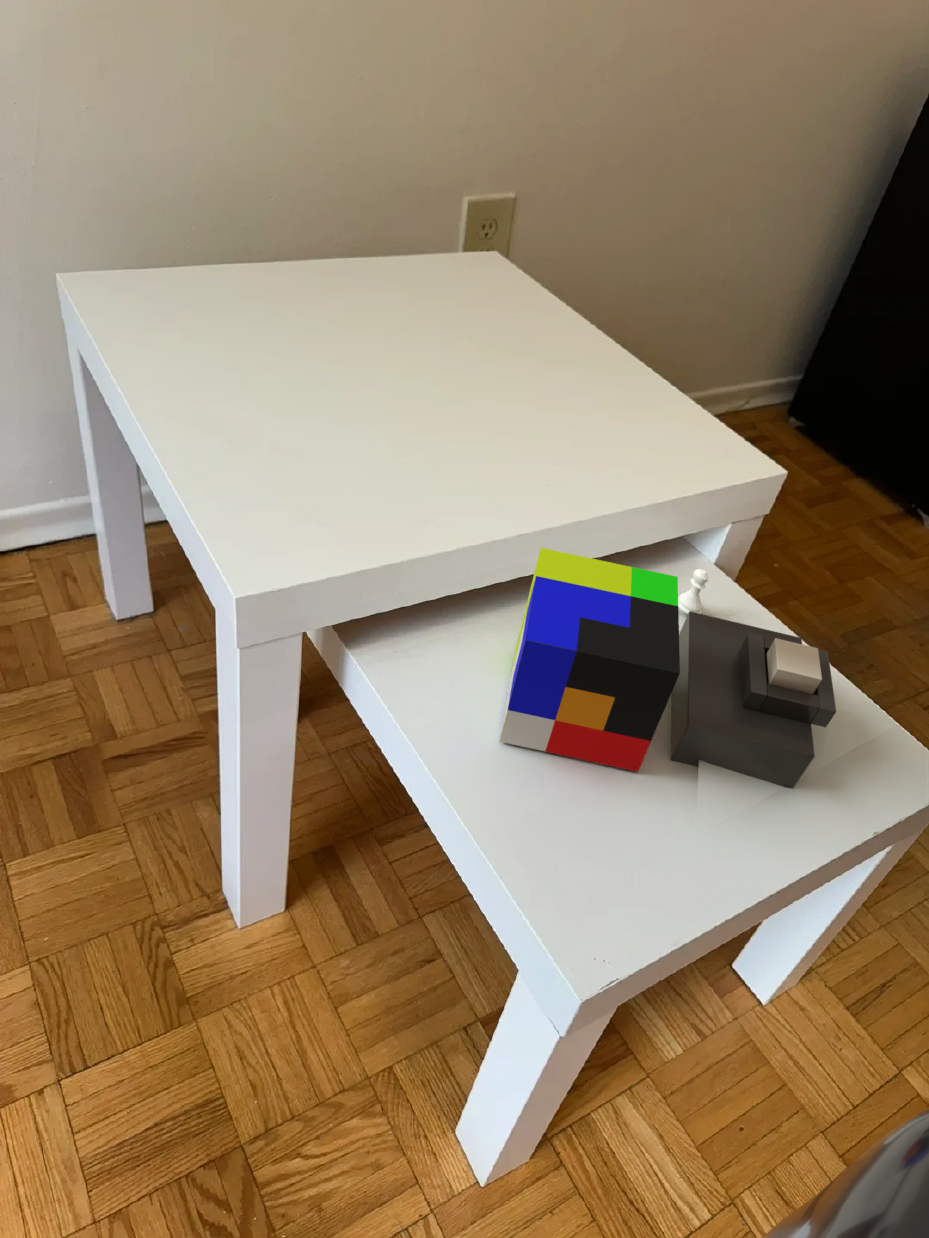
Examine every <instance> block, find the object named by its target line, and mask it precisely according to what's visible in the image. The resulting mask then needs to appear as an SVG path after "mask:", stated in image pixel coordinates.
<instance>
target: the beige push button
mask: <svg viewBox="0 0 929 1238" xmlns="http://www.w3.org/2000/svg"><path fill="white" fill-rule="evenodd" d="M818 649H819V648H818V647H814V646H810V645H806V644H803V643H802V644H798V643H794V642H790V641H785V640H781V639H777V638H775V639H774V641H773V643H772V645H771V647H770V649H769V650H768V652H767V654H766V655H767V668H768V682H769V684H771V685H776V686H780V687H784V688H788V689H792V690H796V691H801V692H805V693H809V694H813V693H814V692H815V690H816V688H817V687H818V685H819V684H820V682H821V681H822V675H821V667H820V660H819V652H818Z"/></svg>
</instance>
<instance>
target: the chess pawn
mask: <svg viewBox="0 0 929 1238" xmlns="http://www.w3.org/2000/svg"><path fill="white" fill-rule="evenodd" d="M709 578H710V576H709V574H708V572H707V571H706V569H703V568H697V569H695V570H694V572H693V576H692V578H691V579H690V583H691V587H690V589H689V590H687V591H684V592H682V593H681V594H679V595H678V609H679V610H680V611H681V612H683V613H684V614H686V615H688V613H689V612H690V611H691V612H695V613H699V614H703V608H702V607H703V605H702V601H701V597H700V593H701V591H702V590H704V589H706V583H708V581H709Z"/></svg>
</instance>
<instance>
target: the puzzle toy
mask: <svg viewBox="0 0 929 1238" xmlns="http://www.w3.org/2000/svg"><path fill="white" fill-rule="evenodd" d="M678 597H679V576H676V575H672V574H667V573H663V572H657V571H652V570H648V569H643V568H638V567H634V566H629V565H624V564H620V563H615V562H610V561H605V560H601V559H596V558H591V557H586V556H582V555H577V554H574V553H573V554H572V553H568V552H564V551H559V550H555V549H549V548H544V547H540V549H539V553H538V557H537V560H536V564H535V569H534V572H533V577H532V580H531V584H530V588H529V592H528V597H527V601H526V605H525V609H524V613H523V617H522V620H521V621H522V622H521V625H520V629H519V633H518V637H517V641H516V645H515V649H514V656H513V661H512V667H511V672H510V679H509V684H508V691H507V696H506V702H505V707H504V714H503V719H502V723H501V724H502V725H501V729H500V737H499V742H500V743H503V744H504V743H505V744H508V745H512V746H518V747H523V748H527V749H532V750H536V751H541V752H545V753H549V754H555V755H560V756H564V757H569V758H574V759H576V760H577V759H578V760H582V761H588V762H592V763H596V764H599V765H604V766H605V765H606V766H609V767H615V768H619V769H624V770H629V771H633V772H636V773H639V771H640V768H641V767H642V764H643V761H644V759H645V757H646V754H647V752H648V750H649V747H650V745H651V743H652V740H653V738H654V736H655V733H656V731H657V728H658V726H659V724H660V721H661V719H662V717H663V714H664V713H665V709H666V707H667V705H668V703H669V700H670V698H671V696H672V691H673V688H674V686H675V684H676V681H677V679H678V677H679V674H680V654H679V633H680V616H679V615H680V613H679V607H678Z"/></svg>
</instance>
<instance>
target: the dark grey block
mask: <svg viewBox="0 0 929 1238" xmlns="http://www.w3.org/2000/svg"><path fill="white" fill-rule="evenodd" d="M775 638H777V639H781V640H785V641H790V642H794V643H798V644H802V645H803V639H802V637H800V636H795V635H791V634H787V633H782V632H778V631H774V630H770V629H765V628H762V627H758V626H754V625H753V626H752V625H749V624H745V623H740V622H737V621H732V620H728V619H724V618H720V617H715V616H712V615H707V614H703V613H701V614H699V613H695V612H691V611H690V612H689V613H688V614H686V618H685V620H684V622H683V625H682V627H681V628H680V630H679V654H680V674H679V677H678V679H677V681H676V684H675V686H674V688H673V691H672V693H671V707H670V708H671V710H670V711H671V712H670V741H669V742H670V744H669V745H670V746H669V748H670V749H669V751H670V752H669V760H670V762H671V761H672V762H675V763H679V764H684V765H687V766H692V767H695V768H699V765H700V762H703V763H707V764H709V765H712V766H716V767H719V768H722V769H725V770H728V771H731V772H734V773H739V774H741V775H744V776H747V777H751V778H754V779H757V780H759V781H760V780H761V781H764V782H767V783H770V784H773V785H776V786H780V787H783V788H786V789H791V790H793V789H794V788H795V786H796V785H797V783H798V782H799V780H800V779H801V777H802V776H803V775H804V773H805V772H806V770H807V769H808V767H809V766H810V764H811V763H812V761H813V760H814V758H815V757H816V755H815V747H814V739H813V738H814V737H813V729H812V725H815V726H818V727H823V728H827V727H828V725H829V724H830V722H831V721H832V719H833V718H834V716H835V715H836V713H837V705H836V700H835V699H836V698H835V694H834V693H835V692H834V686H833V685H834V684H833V679H832V678H833V677H832V672H831V671H832V670H831V663H830V658H829V652H828V651H826V650H823V649H819V648H818V652H819V660H820V667H821V675H822V681H821V682H820V684H819V685H818V687H817V688H816V690H815V692H814V693H813V694H809V693H805V692H801V691H796V690H792V689H788V688H784V687H780V686H776V685H771V684H769V682H768V668H767V655H766V654H767V652H768V650H769V649H770V647H771V645H772V643H773V641H774V639H775Z"/></svg>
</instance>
